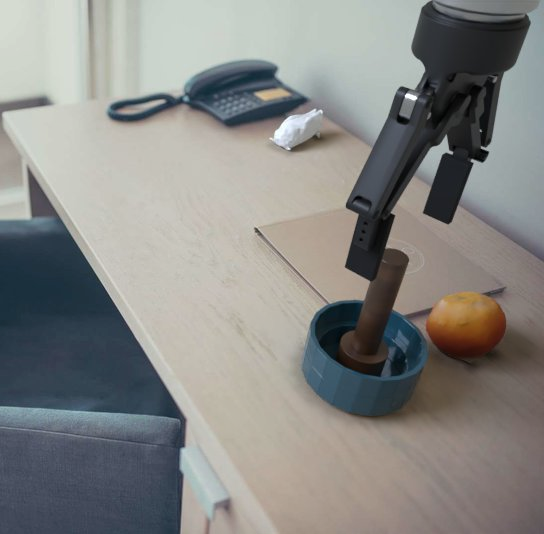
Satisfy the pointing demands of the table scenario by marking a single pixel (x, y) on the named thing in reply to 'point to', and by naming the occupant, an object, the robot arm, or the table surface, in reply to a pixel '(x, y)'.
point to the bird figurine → (298, 129)
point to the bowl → (355, 386)
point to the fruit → (466, 325)
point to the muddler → (374, 318)
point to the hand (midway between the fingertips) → (400, 243)
